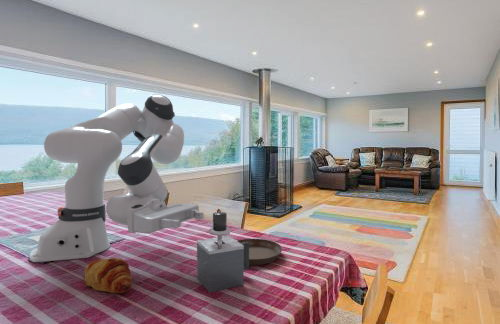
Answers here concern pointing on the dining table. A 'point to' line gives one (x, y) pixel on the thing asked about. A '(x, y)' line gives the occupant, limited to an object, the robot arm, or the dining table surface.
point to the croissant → (108, 275)
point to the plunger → (219, 226)
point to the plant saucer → (262, 251)
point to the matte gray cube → (221, 263)
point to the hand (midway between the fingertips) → (191, 219)
